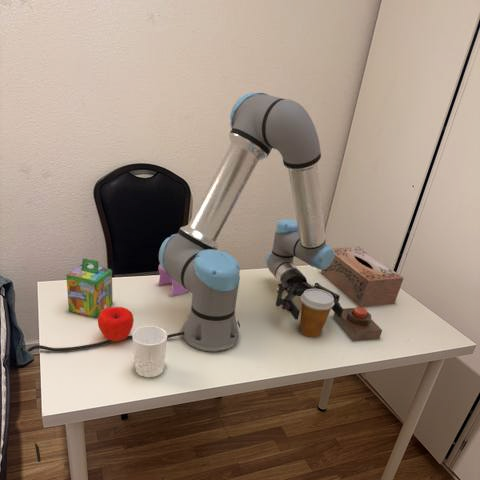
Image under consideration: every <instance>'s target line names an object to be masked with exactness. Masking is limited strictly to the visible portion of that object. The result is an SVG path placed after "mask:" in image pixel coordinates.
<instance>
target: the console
mask: <svg viewBox="0 0 480 480" xmlns="http://www.w3.org/2000/svg"><path fill="white" fill-rule="evenodd" d="M354 308H355V307H346V308H344V307H343V312H342V316H341V317H338V316H337V315H336V313H335V312H334V311H333V316H332V317H333V319H334V320H335V322H336V323H337V324H338V325H339V327H340V328H341V329H342V330H343V331H344V332H345V334H346V335H347V336H348V337H349V338H350V339H351V341H352V342H358V341H371V340H380V338H381V335H382V332H383V329H382V328H381V327H380V326H379V325H378V324H377V323H376V322H375V321H374V320H373V319H372V315H371V314H370V312H369V311H368V312H367V316H366V318H358V317H356V316H354V315H353V311H354Z"/></svg>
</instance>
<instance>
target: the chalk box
mask: <svg viewBox="0 0 480 480" xmlns="http://www.w3.org/2000/svg"><path fill="white" fill-rule="evenodd" d="M65 278H66V291H67V302H68V303H67V305H68V312H73V313H75V314H81V315H84V316H88V317H92V318H96V319H98V317H99V315H100V313H101V312H102V311H103V310H104V309H106V308H109V307H112V305H113V303H114V302H113V301H114V300H113V270H112V269H111V268H108V267H104V266H99V261H98V260H95V259H90V258H82V261H81V264H80V265H78V266H77V267H76V268H74V269H73V270H71V271H70V272H69V273H67V274H66V275H65Z"/></svg>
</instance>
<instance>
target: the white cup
mask: <svg viewBox="0 0 480 480" xmlns="http://www.w3.org/2000/svg"><path fill="white" fill-rule="evenodd" d="M167 335H168V333H167V331H166V330H165V329H164V328H161V326H157V325H145V326H140V327H138V328H136V329H135V330H133V332H132V335H131V336H132V338H133V339H132V350H133V361H134V369H135V373H137V375H139V376H141V377H142V378H143V377H144V378H155V377H158V376H160V375H161V374H162V373H163V372H164V370H165V369H164V368H165V361H166V353H167V343H168V338H167Z"/></svg>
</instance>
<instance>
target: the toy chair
mask: <svg viewBox="0 0 480 480" xmlns="http://www.w3.org/2000/svg"><path fill="white" fill-rule="evenodd" d="M157 271H158V273H159V279H158V283H157V286H162V285H167V284H171V285H172V289H171V293H170V297H174V296H177V295H178V296H179V295H182V294H186V293H189V291H188V290H187V289H185V288H184V287H183V286H182V285H180V284H179V283H178V282H176V281H175V280H174V279H172V278H170V277H169V276H168V275H167V273H166V272H165V271H164V270H163V269H162V267H161V265H160V264H158V270H157Z"/></svg>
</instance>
